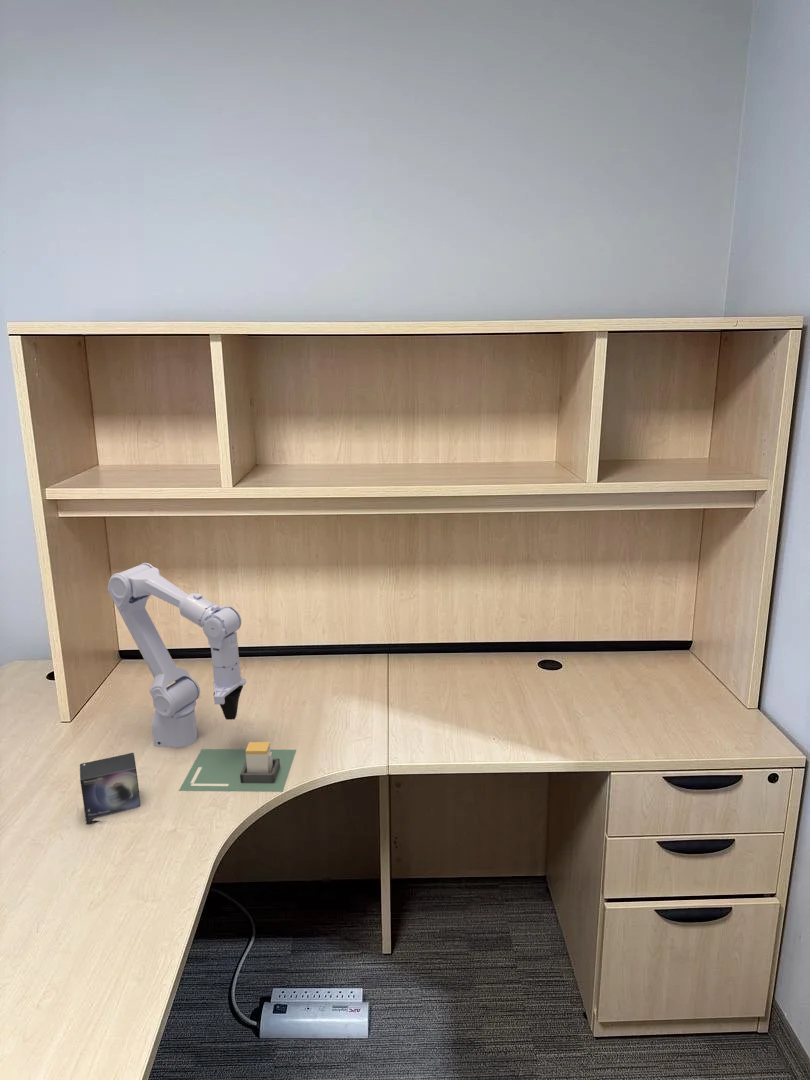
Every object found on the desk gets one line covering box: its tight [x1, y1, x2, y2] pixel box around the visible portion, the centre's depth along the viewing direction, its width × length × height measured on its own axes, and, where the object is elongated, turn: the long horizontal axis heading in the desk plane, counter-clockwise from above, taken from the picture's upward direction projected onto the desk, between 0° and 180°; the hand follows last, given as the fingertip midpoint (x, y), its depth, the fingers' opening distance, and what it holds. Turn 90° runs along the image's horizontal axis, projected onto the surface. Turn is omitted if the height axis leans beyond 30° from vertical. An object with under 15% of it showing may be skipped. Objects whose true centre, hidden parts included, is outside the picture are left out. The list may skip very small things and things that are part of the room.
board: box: [178, 748, 297, 793], centre depth 162 cm, size 22×16×3 cm
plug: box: [246, 741, 273, 773], centre depth 160 cm, size 5×4×7 cm
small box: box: [79, 752, 141, 825], centre depth 150 cm, size 11×6×10 cm, turn 114°
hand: (231, 718), depth 166 cm, fingers closed
